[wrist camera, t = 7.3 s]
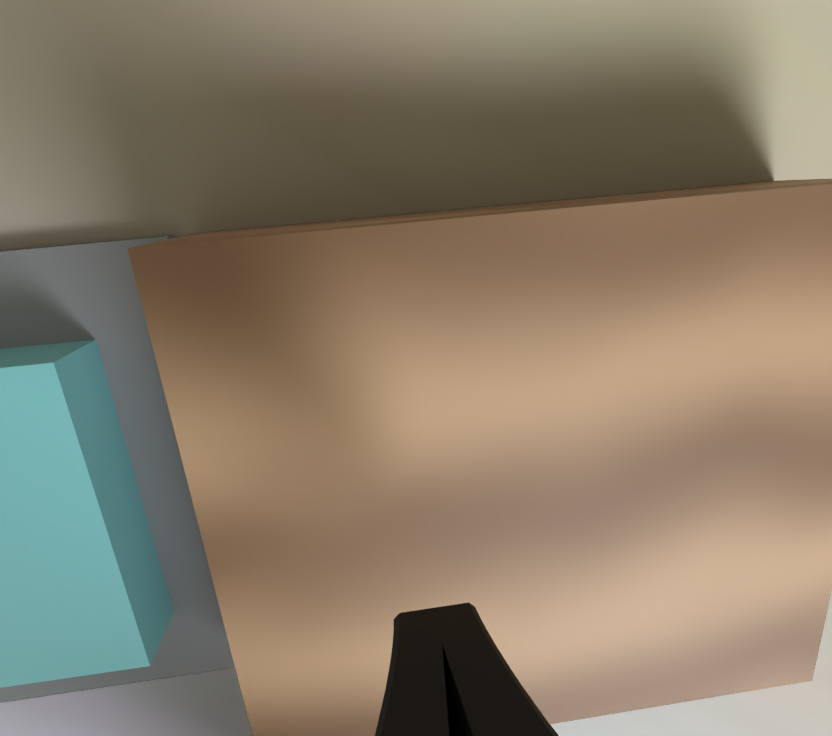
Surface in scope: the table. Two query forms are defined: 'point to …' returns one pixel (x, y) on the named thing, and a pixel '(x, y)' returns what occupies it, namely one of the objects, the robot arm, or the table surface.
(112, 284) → the grey flat slab
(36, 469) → the aqua rectangular block
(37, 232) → the table surface
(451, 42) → the table surface
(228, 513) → the brown wooden flat block
